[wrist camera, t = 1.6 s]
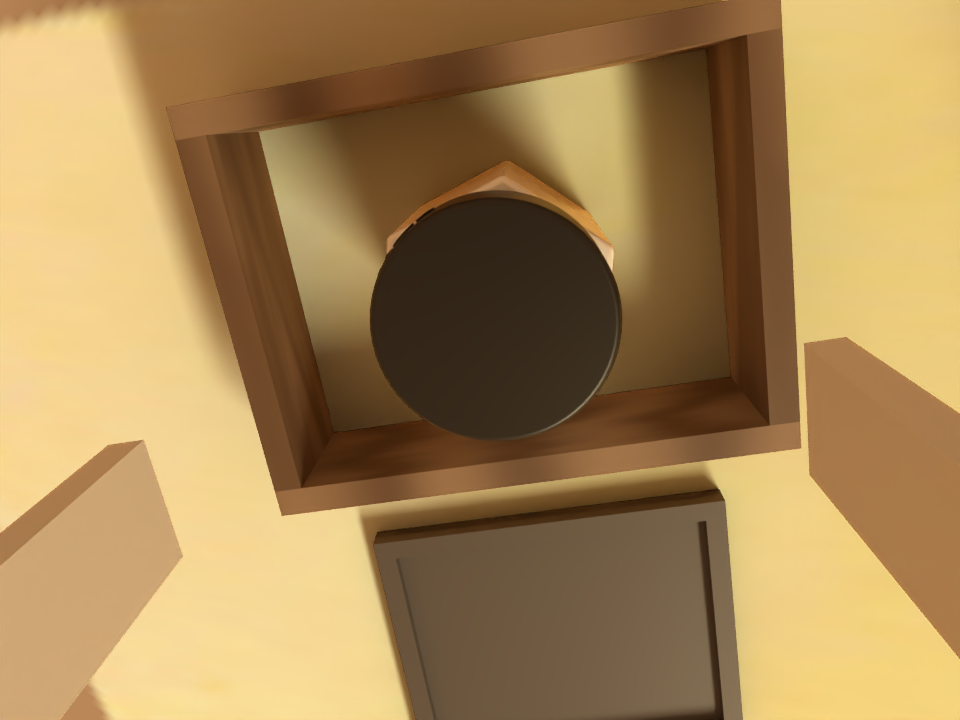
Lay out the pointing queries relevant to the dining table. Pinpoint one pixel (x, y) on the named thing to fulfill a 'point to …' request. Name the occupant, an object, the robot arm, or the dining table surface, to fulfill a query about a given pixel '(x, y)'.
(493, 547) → the tray
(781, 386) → the crate
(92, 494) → the robot arm
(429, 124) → the dining table surface
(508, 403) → the jar
